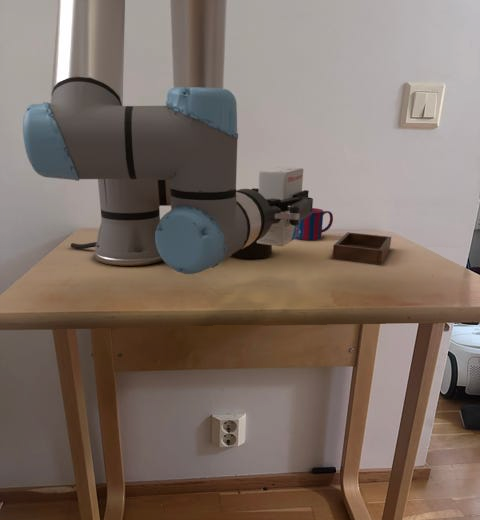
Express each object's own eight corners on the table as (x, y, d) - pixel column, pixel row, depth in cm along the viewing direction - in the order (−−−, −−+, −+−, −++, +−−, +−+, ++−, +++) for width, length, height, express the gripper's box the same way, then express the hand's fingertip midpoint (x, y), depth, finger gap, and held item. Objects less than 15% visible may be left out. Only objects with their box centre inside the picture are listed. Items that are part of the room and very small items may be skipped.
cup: (290, 235, 124) (292, 208, 121) (326, 233, 126) (328, 207, 124) (300, 241, 118) (302, 212, 115) (337, 239, 120) (340, 211, 118)
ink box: (274, 233, 88) (277, 166, 83) (300, 237, 86) (304, 167, 81) (254, 243, 81) (257, 170, 76) (282, 247, 79) (286, 172, 74)
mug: (284, 260, 101) (287, 216, 98) (227, 259, 101) (227, 215, 98) (281, 249, 110) (283, 208, 107) (228, 247, 110) (229, 207, 107)
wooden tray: (332, 258, 103) (333, 244, 102) (346, 244, 115) (347, 232, 114) (380, 264, 100) (382, 250, 99) (389, 249, 112) (391, 236, 111)
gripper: (179, 239, 70) (242, 213, 90) (299, 255, 64) (338, 223, 84) (177, 186, 67) (243, 171, 87) (303, 197, 61) (343, 178, 81)
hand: (290, 197), depth 85 cm, fingers closed on ink box, 5 cm apart
